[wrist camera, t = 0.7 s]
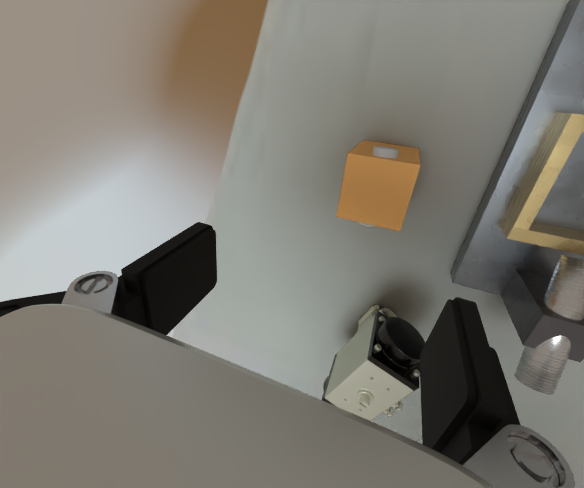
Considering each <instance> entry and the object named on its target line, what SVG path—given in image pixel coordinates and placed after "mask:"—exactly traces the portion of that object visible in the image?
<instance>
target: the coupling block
mask: <svg viewBox="0 0 584 488" xmlns="http://www.w3.org/2000/svg"><path fill="white" fill-rule="evenodd" d="M420 166H421V164H420V155H419V148H413V147H407V146H400V145H393V144H387V143H380V142H373V141H367V140H363V141H362V142H361V143H360V144H358V145H357V146H356V147H355V148H353V149H352V150H351V151H350V152H349V153H348V155H347V160H346V166H345V171H344V177H343V182H342V188H341V193H340V199H339V204H338V209H337V215H336V217H340V218H344V219H348V220H353V221H357V222H358V223H359V224H361V225H363V226H366V227H378V226H379V227H383V228H388V229H392V230H396V231H400V230H401V227H402V224H403V221H404V217H405V214H406V211H407V208H408V205H409V201H410V198H411V195H412V192H413V188H414V185H415V182H416V179H417V175H418V172H419V169H420Z"/></svg>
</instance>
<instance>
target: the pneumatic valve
mask: <svg viewBox="0 0 584 488" xmlns="http://www.w3.org/2000/svg"><path fill="white" fill-rule="evenodd" d="M358 325H359V327H358V332H357V333H356V334H355V336H354V337H353V338H352V339H351V340H350V341H349V342H348V343H347V344H346V345H345V346H344V347H343V348H342V349H341V350H340V351H339V352H338V353H337V354H336V355H335V357H334V361H333V364H332V367H331V371H330V374H329V376H328V377H327V378H326V380H325V382H324V394H323V397H322V401H325V402H327V403H329V404H332V405H334V406H336V407H339V408H341V409H343V410H346V411H348V412H350V413H353V414H355V415H358V416H360V417H362V418H365V419H367V420H369V421H371V420H372V419H374V418H375V417H377V416H378V415H380V414H381V413H384V414H387V416H388V417H391V416H392V415H393V413H394V410H393V408H395V409H396V410H397V411H400V410H401V409H402V407H403V404H402V403H401V402H400V400H402V399H403V398H405V397H406V396H408V395H409V394H410V393H412V392H413V391H415V390H416V389H418V388H419V377H420V355H421V351H422V349H423V347H424V345H425V341H424V339H423V338H422V336H421V335H420V333H419V332H418V331H417V330H416V329H415V328H414V327H413V326H412V325H411V324H410V323H408V322H407V321H405V320H403V319H401V318H398V317H396V315H395V314H394V313H393V312H392V311H391V310H390V309H388V308H382V309H381V310H380V306H379V305H373V306H372V307H371V308H370V309H369V310H368V311H367V312H366V313H365V314H364V315H363V316H362V317H361V318H360V319H359V321H358ZM391 407H393V408H391Z"/></svg>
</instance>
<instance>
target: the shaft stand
mask: <svg viewBox="0 0 584 488" xmlns="http://www.w3.org/2000/svg"><path fill="white" fill-rule="evenodd" d="M450 273H451V278H452V282H453V283H455V284H459V285H463V286H467V287H471V288H474V289H478V290H482V291H486V292H490V293H493V294H497V295H501V297H502V299H503V301H504V304H505V306H506V308H507V310H508V313H509V315H510V317H511V319H512V322H513V324H514V326H515V328H516V330H517V333H518V335H519V337H520V339H521V342H522V344H523V345H525V348H524V351H523V353H522V356H521V359H520V361H519V364H518V367H517V369H516V372H515V374H514V375H515V377H516V378H517V379H518V380H519V381H520V382H522V383H523V384H525V385H526V386H528V387H530V388H532V389H534V390H536V391H539V392H542V393H545V394H553V393H554V391H555V389H556V386H557V384H558V381H559V379H560V377H561V374H562V372H563V369H564V367H565V364H566V362H567V360H568V359H571V360H575V361H578V362H581V361H582V360H583V359H584V0H571V1H569V3H568V5H567V7H566V10H565V12H564V14H563V17H562V19H561V21H560V23H559V26H558V28H557V30H556V32H555V35H554V37H553V39H552V42H551V44H550V46H549V48H548V51H547V53H546V55H545V58H544V60H543V62H542V64H541V67H540V69H539V71H538V74H537V76H536V78H535V80H534V83H533V85H532V87H531V90H530V92H529V94H528V96H527V99H526V101H525V103H524V106H523V108H522V110H521V112H520V115H519V117H518V119H517V121H516V124H515V126H514V128H513V131H512V133H511V135H510V137H509V140H508V142H507V144H506V147H505V149H504V151H503V153H502V156H501V158H500V160H499V163H498V165H497V167H496V169H495V172H494V174H493V176H492V179H491V181H490V183H489V185H488V188H487V190H486V192H485V194H484V197H483V199H482V201H481V204H480V206H479V208H478V210H477V213H476V215H475V217H474V220H473V222H472V224H471V226H470V229H469V231H468V233H467V236H466V238H465V240H464V242H463V245H462V247H461V249H460V252H459V254H458V256H457V258H456V261H455V263H454V265H453V268H452V270H451V272H450Z"/></svg>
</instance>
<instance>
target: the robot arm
mask: <svg viewBox="0 0 584 488" xmlns="http://www.w3.org/2000/svg"><path fill="white" fill-rule="evenodd" d="M121 271H122V275H121V276H120V277H117V275H116V274H114V273H112V272H107V271H97V272H91V273H88V274H85V275H82V276H80V277H79V278H77V279H75V280H74V281H73V282H72V283H71V284H70V286H69V288H68V290H67V291H64V292H57V293H51V294H44V295H38V296H32V297H25V298H19V299H13V300H9V301H3V302H0V488H574V486H575V482H574V477H573V473H572V471H571V469H570V467H569V465H568V463H567V462H566V460H565V459H564V458H563V456H562V455H561V454H560V452H559V451H558V450H557V449H556V448H555V447H554V446H553V445H552V444H551V443H550V442H549V441H547V440H546V439H545V438H543V437H542V436H541V435H540V434H538V433H536V432H534V431H533V430H531V429H529V428H527V427H524V426H521V425H520V422H519V419H518V416H517V413H516V410H515V407H514V404H513V401H512V398H511V395H510V392H509V389H508V386H507V383H506V380H505V377H504V374H503V371H502V368H501V365H500V362H499V359H498V355H497V353H496V351H495V350H494V349H493V348H491V347H489V344H488V341H487V337H486V334H485V331H484V328H483V324H482V321H481V318H480V315H479V311H478V308H477V305H476V303H475V302H472V301H468V300H465V299H462V298H458V297H457V298H455V299H454V300H450V299H449V300H448V301H447V303H446V305H445V306H444V308H443V310H442V312H441V314H440V316H439V318H438V320H437V322H436V324H435V326H434V328H433V330H432V332H431V334H430V336H429V337H428V339H427V341H426V343H425V345H424V347H423V349H422V351H421V355H420V381H421V409H422V437H423V445H422V444H420V443H418V442H416V441H414V440H412V439H410V438H407V437H405V436H403V435H401V434H398V433H396V432H394V431H392V430H389V429H387V428H385V427H383V426H380V425H378V424H376V423H374V422H371V421H369V420H367V419H365V418H362V417H360V416H358V415H355V414H353V413H350V412H348V411H346V410H343V409H341V408H339V407H336V406H334V405H332V404H329V403H327V402H325V401H322V400H320V399H317V398H315V397H313V396H310V395H308V394H306V393H303V392H301V391H299V390H296V389H294V388H292V387H289V386H287V385H284V384H282V383H280V382H277V381H275V380H272V379H270V378H268V377H265V376H263V375H261V374H258V373H256V372H253V371H251V370H249V369H246V368H244V367H241V366H239V365H237V364H234V363H232V362H229V361H227V360H225V359H222V358H220V357H217V356H215V355H213V354H210V353H208V352H205V351H203V350H200V349H198V348H196V347H193V346H191V345H188V344H186V343H183V342H181V341H178V340H176V339H174V338H171V337H169V336H166V335H167V334H168V333H169V332H170V331H171V330H172V329H173V328H174V327H175V326H176V325H177V324H178V323H179V322H180V321H181V320H182V319H183V318H184V317H185V316H186V315H187V314H188V313H189V312H190V311H191V310H192V309H193V308H194V307H195V306H196V305H197V304H198V303H199V302H200V301H201V300H202V299H203V298H204V297H205V296H206V295H207V294H208V293H209V292H210V291H211V290H212V289H213V288H214V287H215V285H216V282H217V264H216V232H215V230H213V228H212V226H211V225H207V224H204V223H200V222H198V223H196V224H194V225H193V226H191V227H189V228H187V229H186V230H184V231H183V232H181V233H179V234H178V235H176V236H175V237H173V238H171V239H170V240H168V241H166V242H165V243H163V244H162V245H160V246H159V247H157V248H155V249H154V250H152V251H150V252H149V253H147V254H145V255H144V256H142V257H141V258H139V259H137V260H136V261H134V262H133V263H131V264H129V265H128V266H126V267H125V268H123V269H122V270H121Z"/></svg>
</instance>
